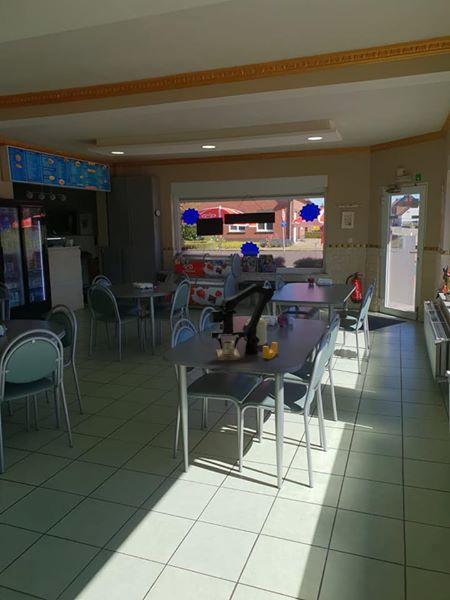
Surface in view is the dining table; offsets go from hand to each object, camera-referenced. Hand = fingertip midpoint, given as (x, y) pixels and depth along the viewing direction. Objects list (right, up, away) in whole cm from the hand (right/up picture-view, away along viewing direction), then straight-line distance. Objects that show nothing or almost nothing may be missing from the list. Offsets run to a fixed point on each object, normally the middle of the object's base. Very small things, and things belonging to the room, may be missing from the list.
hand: (228, 349), depth 260 cm
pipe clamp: (+24, -4, 0) cm, 25 cm away
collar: (0, -2, 0) cm, 2 cm away
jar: (+17, +1, +27) cm, 32 cm away
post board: (0, -4, +1) cm, 4 cm away
